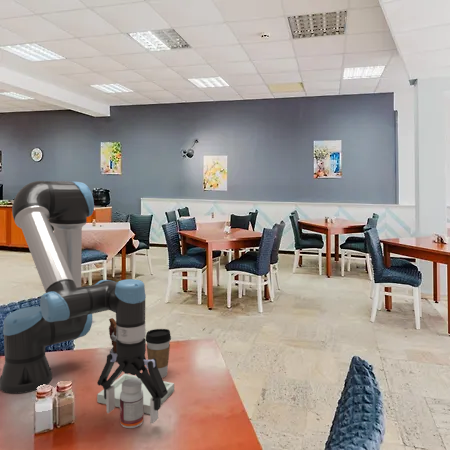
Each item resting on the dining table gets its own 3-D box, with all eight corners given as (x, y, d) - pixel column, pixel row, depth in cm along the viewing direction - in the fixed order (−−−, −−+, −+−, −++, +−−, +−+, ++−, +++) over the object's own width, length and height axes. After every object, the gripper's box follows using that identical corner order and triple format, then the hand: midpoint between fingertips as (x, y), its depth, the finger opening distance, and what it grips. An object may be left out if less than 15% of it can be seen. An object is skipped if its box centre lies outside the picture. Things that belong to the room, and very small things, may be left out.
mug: (126, 365, 141) (120, 323, 141) (100, 362, 150) (95, 322, 150) (150, 354, 151) (145, 315, 151) (125, 351, 159) (120, 314, 159)
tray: (97, 402, 118) (97, 394, 118) (124, 380, 131) (124, 373, 131) (151, 414, 112) (151, 406, 112) (174, 390, 125) (174, 383, 125)
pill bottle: (122, 416, 111) (121, 377, 110) (144, 415, 112) (144, 376, 110) (118, 429, 105) (117, 388, 104) (142, 428, 105) (142, 387, 104)
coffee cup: (166, 381, 131) (165, 337, 129) (141, 378, 133) (141, 334, 131) (174, 370, 139) (174, 328, 138) (151, 367, 141) (151, 326, 139)
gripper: (82, 337, 107) (84, 413, 109) (166, 351, 98) (166, 433, 100) (100, 328, 114) (101, 399, 116) (180, 340, 105) (180, 417, 107)
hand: (132, 415), depth 108 cm, fingers open, 13 cm apart
